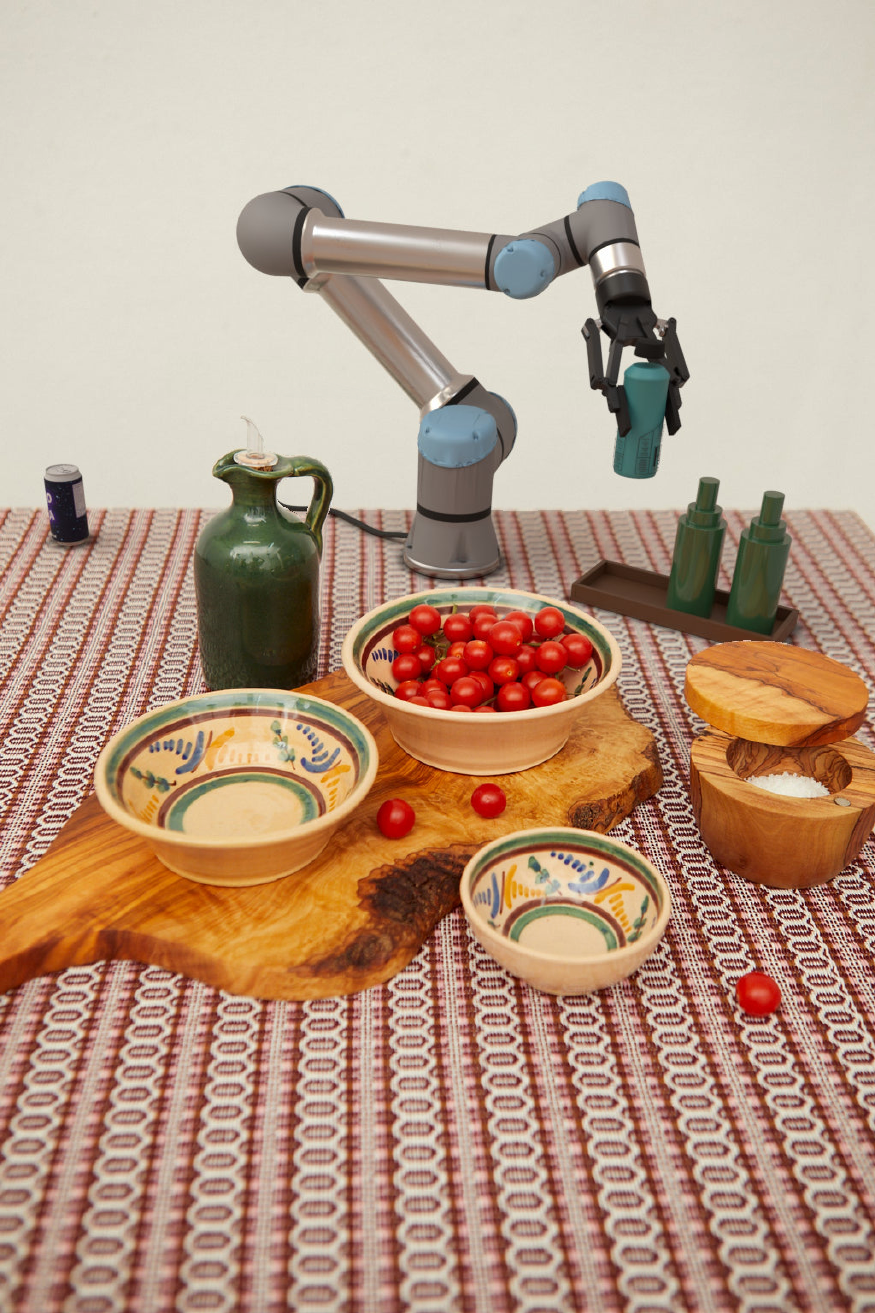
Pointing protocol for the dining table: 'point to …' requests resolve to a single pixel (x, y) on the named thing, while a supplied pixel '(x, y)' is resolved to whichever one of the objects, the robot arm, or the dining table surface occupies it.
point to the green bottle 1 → (698, 553)
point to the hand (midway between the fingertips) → (650, 431)
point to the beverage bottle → (643, 413)
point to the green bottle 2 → (760, 569)
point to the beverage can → (66, 504)
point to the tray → (647, 598)
